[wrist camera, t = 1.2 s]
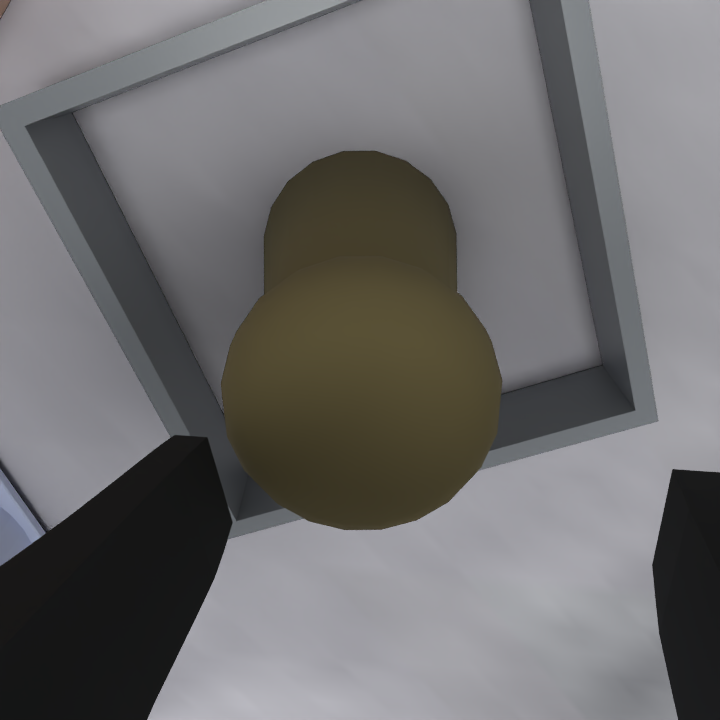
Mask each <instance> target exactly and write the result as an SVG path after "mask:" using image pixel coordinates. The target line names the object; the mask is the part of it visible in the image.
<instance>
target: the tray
mask: <svg viewBox="0 0 720 720" xmlns="http://www.w3.org/2000/svg"><path fill="white" fill-rule="evenodd" d="M359 1H361V0H266V1H264V2H261V3H258V4H256V5H253V6H251V7H248V8H246V9H243V10H241V11H238V12H236V13H233V14H231V15H228V16H226V17H223V18H221V19H218V20H216V21H213V22H210V23H208V24H205V25H203V26H200V27H198V28H195V29H193V30H190V31H188V32H185V33H183V34H180V35H178V36H175V37H173V38H170V39H167V40H165V41H162V42H160V43H157V44H155V45H152V46H150V47H147V48H145V49H142V50H140V51H137V52H135V53H132V54H130V55H127V56H124V57H122V58H119V59H117V60H114V61H112V62H109V63H107V64H104V65H102V66H99V67H97V68H94V69H92V70H89V71H87V72H84V73H81V74H79V75H76V76H74V77H71V78H69V79H66V80H64V81H61V82H59V83H56V84H54V85H51V86H49V87H46V88H44V89H41V90H38V91H36V92H33V93H31V94H28V95H26V96H23V97H21V98H18V99H16V100H13V101H11V102H8V103H6V104H3V105H1V106H0V129H1V131H2V133H3V135H4V137H5V139H6V140H7V142H8V144H9V146H10V148H11V149H12V151H13V153H14V155H15V157H16V158H17V160H18V162H19V164H20V166H21V167H22V169H23V171H24V173H25V175H26V176H27V178H28V180H29V182H30V184H31V186H32V187H33V189H34V191H35V193H36V195H37V196H38V198H39V200H40V202H41V204H42V205H43V207H44V209H45V211H46V213H47V214H48V216H49V218H50V220H51V222H52V224H53V225H54V227H55V229H56V231H57V233H58V234H59V236H60V238H61V240H62V242H63V243H64V245H65V247H66V249H67V251H68V252H69V254H70V256H71V258H72V260H73V261H74V263H75V265H76V267H77V269H78V271H79V272H80V274H81V276H82V278H83V280H84V281H85V283H86V285H87V287H88V289H89V290H90V292H91V294H92V296H93V298H94V299H95V301H96V303H97V305H98V307H99V309H100V310H101V312H102V314H103V316H104V318H105V319H106V321H107V323H108V325H109V327H110V328H111V330H112V332H113V334H114V336H115V337H116V339H117V341H118V343H119V345H120V346H121V348H122V350H123V352H124V354H125V356H126V357H127V359H128V361H129V363H130V365H131V366H132V368H133V370H134V372H135V374H136V375H137V377H138V379H139V381H140V383H141V384H142V386H143V388H144V390H145V392H146V394H147V395H148V397H149V399H150V401H151V403H152V404H153V406H154V408H155V410H156V412H157V413H158V415H159V417H160V419H161V421H162V422H163V424H164V426H165V428H166V430H167V431H168V433H169V435H170V437H172V436H174V435H184V436H199V437H208V440H209V444H210V447H211V451H212V454H213V457H214V461H215V464H216V467H217V471H218V474H219V478H220V481H221V484H222V488H223V491H224V494H225V498H226V501H227V505H228V508H229V511H230V515H231V518H232V521H233V524H232V527H231V530H230V533H229V536H228V539H230V538H234V537H238V536H241V535H245V534H248V533H252V532H256V531H259V530H263V529H267V528H270V527H274V526H278V525H281V524H285V523H289V522H292V521H296V520H300V519H303V518H302V517H300V516H299V515H297V514H295V513H293V512H291V511H289V510H287V509H286V508H284V507H282V506H280V505H278V504H277V503H276V502H275V501H274V500H273V499H272V498H271V497H270V496H269V495H268V494H267V493H266V492H265V491H264V490H263V489H262V488H261V487H260V486H259V485H258V484H257V483H256V482H255V481H254V480H253V479H252V478H251V477H250V476H249V475H248V474H247V473H246V472H245V471H244V469H243V467H242V465H241V463H240V461H239V459H238V457H237V455H236V453H235V452H234V450H233V448H232V446H231V444H230V442H229V440H228V438H227V433H226V424H225V417H224V415H223V413H222V411H221V409H220V407H219V405H218V403H217V401H216V399H215V397H214V395H213V393H212V391H211V389H210V387H209V385H208V383H207V381H206V379H205V377H204V375H203V373H202V371H201V369H200V367H199V365H198V363H197V361H196V359H195V357H194V355H193V353H192V351H191V349H190V347H189V345H188V343H187V341H186V339H185V337H184V335H183V333H182V331H181V329H180V327H179V325H178V323H177V321H176V319H175V317H174V315H173V313H172V311H171V309H170V307H169V305H168V303H167V301H166V299H165V297H164V295H163V293H162V291H161V289H160V287H159V285H158V283H157V281H156V279H155V277H154V275H153V273H152V271H151V269H150V267H149V265H148V263H147V261H146V259H145V257H144V255H143V254H142V252H141V250H140V248H139V246H138V244H137V242H136V240H135V238H134V236H133V234H132V232H131V230H130V228H129V226H128V224H127V222H126V220H125V218H124V216H123V214H122V212H121V210H120V208H119V206H118V204H117V202H116V200H115V198H114V196H113V194H112V192H111V190H110V188H109V186H108V184H107V182H106V180H105V178H104V176H103V174H102V172H101V170H100V168H99V166H98V164H97V162H96V160H95V158H94V156H93V154H92V152H91V150H90V148H89V146H88V144H87V142H86V140H85V138H84V136H83V134H82V132H81V130H80V128H79V126H78V124H77V122H76V120H75V118H74V116H73V114H72V112H74V111H77V110H79V109H82V108H85V107H87V106H90V105H92V104H95V103H98V102H100V101H103V100H105V99H108V98H110V97H113V96H116V95H118V94H121V93H123V92H126V91H129V90H131V89H134V88H136V87H139V86H141V85H144V84H147V83H149V82H152V81H154V80H157V79H160V78H162V77H165V76H167V75H170V74H172V73H175V72H178V71H180V70H183V69H185V68H188V67H191V66H193V65H196V64H198V63H201V62H204V61H206V60H209V59H211V58H214V57H216V56H219V55H222V54H224V53H227V52H229V51H232V50H235V49H237V48H240V47H242V46H245V45H247V44H250V43H253V42H255V41H258V40H260V39H263V38H266V37H268V36H271V35H273V34H276V33H278V32H281V31H284V30H286V29H289V28H291V27H294V26H297V25H299V24H302V23H304V22H307V21H309V20H312V19H315V18H317V17H320V16H322V15H325V14H328V13H330V12H333V11H335V10H338V9H340V8H343V7H346V6H348V5H351V4H353V3H356V2H359ZM529 1H530V5H531V10H532V15H533V20H534V25H535V30H536V35H537V40H538V45H539V50H540V55H541V60H542V65H543V70H544V75H545V80H546V85H547V90H548V95H549V100H550V105H551V110H552V115H553V120H554V125H555V130H556V135H557V140H558V145H559V150H560V155H561V160H562V165H563V170H564V175H565V180H566V185H567V190H568V195H569V200H570V205H571V210H572V215H573V220H574V225H575V230H576V235H577V240H578V245H579V250H580V255H581V260H582V265H583V270H584V275H585V280H586V285H587V290H588V295H589V300H590V304H591V309H592V314H593V319H594V324H595V329H596V334H597V339H598V344H599V349H600V354H601V359H602V364H603V365H602V366H599V367H596V368H592V369H589V370H585V371H582V372H578V373H575V374H571V375H568V376H564V377H561V378H558V379H554V380H551V381H547V382H544V383H540V384H537V385H533V386H530V387H526V388H523V389H519V390H516V391H513V392H509V393H506V394H502V395H501V399H500V410H499V421H498V431H497V435H496V437H495V439H494V441H493V444H492V446H491V448H490V450H489V452H488V454H487V456H486V458H485V460H484V463H483V465H482V467H481V468H480V469H479V470H482V469H486V468H489V467H493V466H497V465H500V464H504V463H508V462H511V461H515V460H519V459H522V458H526V457H530V456H533V455H537V454H541V453H544V452H548V451H552V450H555V449H559V448H562V447H566V446H570V445H573V444H577V443H581V442H584V441H588V440H592V439H595V438H599V437H603V436H606V435H610V434H614V433H617V432H621V431H625V430H628V429H632V428H635V427H639V426H643V425H646V424H650V423H654V422H657V421H658V415H657V409H656V403H655V397H654V391H653V385H652V379H651V373H650V367H649V361H648V355H647V349H646V343H645V337H644V331H643V325H642V319H641V313H640V307H639V301H638V295H637V289H636V283H635V277H634V271H633V265H632V259H631V253H630V247H629V241H628V235H627V229H626V223H625V217H624V211H623V205H622V199H621V193H620V187H619V180H618V174H617V168H616V162H615V156H614V150H613V144H612V138H611V132H610V126H609V120H608V114H607V108H606V102H605V96H604V90H603V84H602V78H601V72H600V66H599V60H598V54H597V48H596V42H595V36H594V30H593V24H592V18H591V12H590V6H589V0H529Z"/></svg>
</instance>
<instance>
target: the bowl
mask: <svg viewBox="0 0 720 720" xmlns="http://www.w3.org/2000/svg"><path fill="white" fill-rule="evenodd" d="M10 1H11V0H0V18H1V17H2V15H3V13H4V11H5V9H6V8H7V6H8V4H9V2H10Z"/></svg>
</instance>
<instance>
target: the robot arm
mask: <svg viewBox="0 0 720 720" xmlns="http://www.w3.org/2000/svg"><path fill="white" fill-rule="evenodd" d="M232 524H233V521H232V518H231V515H230V511H229V508H228V505H227V501H226V498H225V494H224V491H223V488H222V484H221V481H220V478H219V474H218V471H217V467H216V464H215V461H214V457H213V454H212V451H211V447H210V444H209V440H208V437H199V436H184V435H174V436H172V437H171V438H170V439H168V440H167V441H165V442H164V443H163V444H161V445H160V446H159V447H157V448H156V449H155V450H153V451H152V452H151V453H150V454H148V455H147V456H146V457H144V458H143V459H142V460H141V461H139V462H138V463H137V464H136V465H134V466H133V467H132V468H130V469H129V470H128V471H127V472H125V473H124V474H123V475H122V476H120V477H119V478H118V479H117V480H115V481H114V482H113V483H112V484H110V485H109V486H108V487H106V488H105V489H104V490H103V491H101V492H100V493H99V494H97V495H96V496H95V497H94V498H92V499H91V500H90V501H88V502H87V503H86V504H85V505H83V506H82V507H81V508H79V509H78V510H77V511H75V512H74V513H73V514H72V515H70V516H69V517H68V518H66V519H65V520H64V521H62V522H61V523H60V524H58V525H57V526H55V527H54V528H53V529H51V530H50V531H48V532H47V533H45V531H44V530H43V528H42V527H41V526H40V524H39V523H38V521H37V520H36V519H35V517H34V516H33V514H32V513H31V511H30V510H29V509H28V507H27V506H26V504H25V503H24V502H23V500H22V499H21V497H20V496H19V494H18V493H17V492H16V490H15V489H14V487H13V486H12V485H11V483H10V482H9V480H8V479H7V477H6V476H5V475H4V473H3V472H2V470H1V469H0V720H147V719H148V716H149V714H150V712H151V709H152V707H153V705H154V703H155V701H156V699H157V696H158V694H159V692H160V690H161V688H162V686H163V684H164V682H165V680H166V678H167V676H168V674H169V672H170V670H171V668H172V666H173V664H174V662H175V659H176V657H177V655H178V653H179V651H180V649H181V647H182V645H183V643H184V641H185V639H186V637H187V635H188V633H189V631H190V629H191V627H192V625H193V623H194V620H195V618H196V616H197V614H198V612H199V610H200V608H201V606H202V604H203V602H204V599H205V597H206V595H207V593H208V591H209V589H210V587H211V585H212V582H213V580H214V578H215V575H216V572H217V569H218V567H219V564H220V561H221V558H222V555H223V552H224V549H225V546H226V543H227V540H228V536H229V533H230V530H231V527H232ZM652 566H653V577H654V588H655V598H656V608H657V617H658V626H659V634H660V639H661V644H662V648H663V653H664V657H665V662H666V667H667V671H668V676H669V680H670V685H671V689H672V694H673V698H674V703H675V707H676V712H677V716H678V720H720V473H719V472H704V471H690V470H675V469H673V470H672V474H671V479H670V484H669V489H668V493H667V498H666V503H665V507H664V512H663V517H662V522H661V526H660V531H659V536H658V541H657V545H656V550H655V555H654V560H653V564H652Z"/></svg>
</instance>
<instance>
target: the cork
mask: <svg viewBox="0 0 720 720" xmlns="http://www.w3.org/2000/svg"><path fill="white" fill-rule="evenodd" d="M501 388H502V378H501V374H500V370H499V367H498V363H497V359H496V356H495V352H494V349H493V345H492V342H491V339H490V337H489V335H488V333H487V331H486V329H485V327H484V326H483V325H482V323H481V322H480V321H479V319H478V318H477V316H476V315H475V314H474V312H473V311H472V309H471V308H470V307H469V305H468V304H467V303H466V301H465V300H464V298H463V297H462V296H461V295H460V294H458V293H457V247H456V231H455V227H454V224H453V220H452V216H451V213H450V209H449V206H448V204H447V202H446V201H445V199H444V198H443V196H442V195H441V194H440V192H439V191H438V189H437V188H436V186H435V185H434V183H433V182H432V180H431V179H429V178H428V177H427V176H425V175H424V174H423V173H421V172H420V171H419V170H417V169H416V168H415V167H413V166H412V165H411V164H409V163H408V162H407V161H405V160H402V159H399V158H396V157H392V156H389V155H386V154H383V153H380V152H377V151H342V152H340V153H337V154H334V155H331V156H328V157H325V158H323V159H320V160H317V161H314V162H312V163H311V164H309V165H308V166H307V167H306V168H304V169H303V170H302V171H301V172H299V173H298V174H297V175H295V176H294V177H293V178H292V179H290V180H289V181H288V182H287V184H286V185H285V187H284V188H283V190H282V191H281V193H280V194H279V196H278V197H277V199H276V201H275V202H274V204H273V205H272V207H271V210H270V214H269V218H268V222H267V226H266V230H265V234H264V295H263V296H262V297H260V298H259V299H258V301H257V302H256V304H255V305H254V307H253V308H252V310H251V311H250V312H249V314H248V315H247V317H246V318H245V320H244V321H243V323H242V324H241V326H240V327H239V329H238V330H237V332H236V334H235V336H234V338H233V340H232V342H231V345H230V348H229V352H228V356H227V361H226V365H225V369H224V373H223V377H222V381H221V390H222V399H223V408H224V416H225V424H226V433H227V438H228V440H229V442H230V444H231V446H232V448H233V450H234V452H235V453H236V455H237V457H238V459H239V461H240V463H241V465H242V467H243V469H244V471H245V472H246V473H247V474H248V475H249V476H250V477H251V478H252V479H253V480H254V481H255V482H256V483H257V484H258V485H259V486H260V487H261V488H262V489H263V490H264V491H265V492H266V493H267V494H268V495H269V496H270V497H271V498H272V499H273V500H274V501H275V502H276V503H277V504H278V505H280V506H282V507H284V508H286V509H287V510H289V511H291V512H293V513H295V514H297V515H299V516H300V517H302V518H304V519H306V520H308V521H310V522H314V523H318V524H322V525H327V526H331V527H335V528H339V529H343V530H382V529H385V528H389V527H393V526H397V525H400V524H404V523H408V522H412V521H416V520H418V519H420V518H422V517H423V516H425V515H427V514H429V513H430V512H432V511H434V510H435V509H437V508H439V507H441V506H442V505H444V504H446V503H448V502H449V501H450V500H451V499H452V498H453V497H454V496H455V494H456V493H457V492H458V491H459V490H460V489H461V488H462V487H463V486H464V485H465V484H466V483H467V482H468V481H469V480H470V479H471V478H472V477H473V476H474V475H475V473H476V472H477V471H478V470H479V469H480V468H481V467H482V465H483V463H484V460H485V458H486V456H487V454H488V452H489V450H490V448H491V446H492V444H493V441H494V439H495V437H496V435H497V431H498V421H499V410H500V399H501Z"/></svg>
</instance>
